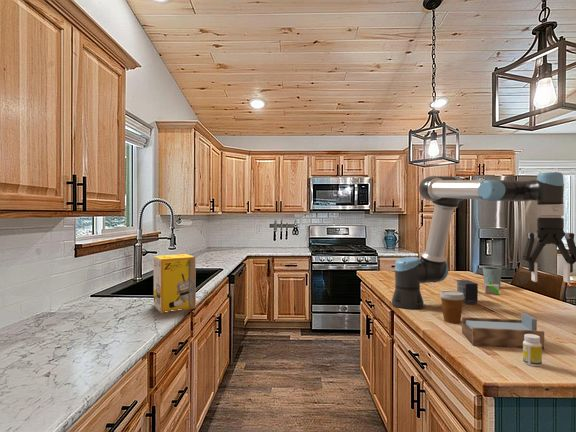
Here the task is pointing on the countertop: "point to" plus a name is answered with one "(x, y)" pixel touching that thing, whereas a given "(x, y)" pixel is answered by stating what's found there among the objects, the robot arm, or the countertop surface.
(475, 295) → the small box
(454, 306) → the disposable coffee cup
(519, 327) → the cover plate
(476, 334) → the box body
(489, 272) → the drinking glass
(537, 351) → the supplement bottle
